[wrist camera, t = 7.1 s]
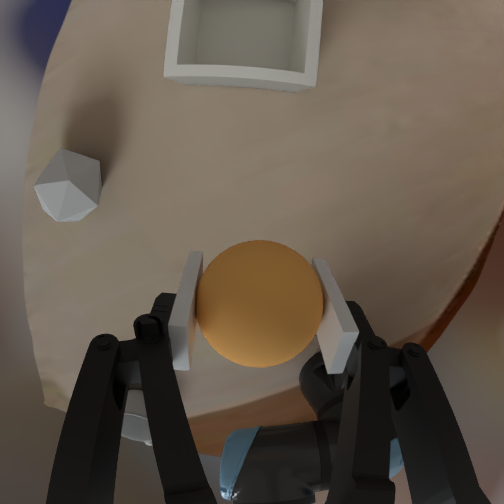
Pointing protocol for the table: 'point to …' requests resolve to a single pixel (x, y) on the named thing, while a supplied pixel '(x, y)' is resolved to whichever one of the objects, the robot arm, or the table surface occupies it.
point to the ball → (259, 303)
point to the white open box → (244, 43)
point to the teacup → (136, 418)
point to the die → (69, 186)
